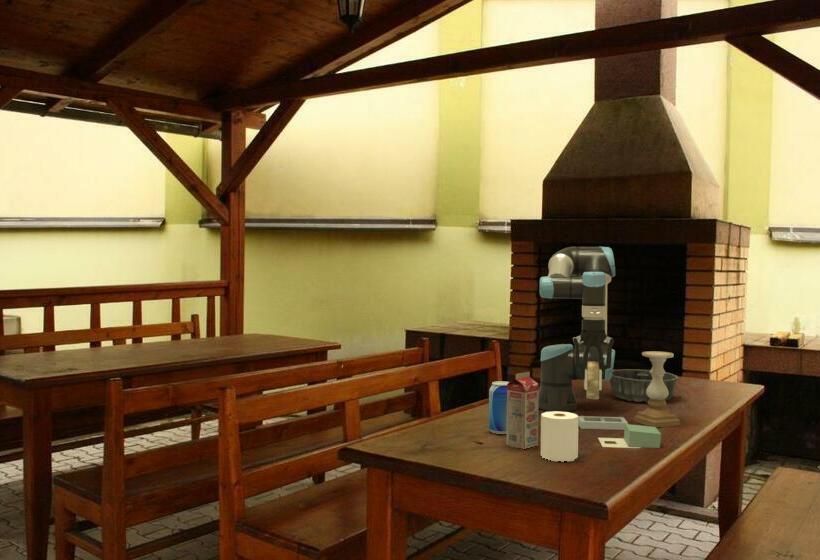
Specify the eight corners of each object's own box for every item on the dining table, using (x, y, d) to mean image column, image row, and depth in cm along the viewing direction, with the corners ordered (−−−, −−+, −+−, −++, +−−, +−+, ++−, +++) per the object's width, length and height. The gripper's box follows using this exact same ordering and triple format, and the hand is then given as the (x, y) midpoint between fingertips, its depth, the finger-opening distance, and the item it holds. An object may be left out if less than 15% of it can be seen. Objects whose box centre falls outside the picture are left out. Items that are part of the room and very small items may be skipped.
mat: (602, 448, 224) (602, 446, 224) (597, 438, 235) (597, 437, 235) (640, 449, 223) (640, 448, 223) (634, 440, 234) (634, 438, 234)
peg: (587, 399, 249) (587, 362, 248) (585, 396, 253) (586, 361, 252) (599, 399, 248) (600, 362, 248) (598, 397, 252) (598, 361, 252)
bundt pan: (682, 396, 304) (683, 372, 304) (672, 408, 281) (672, 382, 281) (616, 390, 317) (616, 367, 316) (600, 402, 293) (601, 376, 293)
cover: (628, 445, 224) (629, 430, 224) (623, 438, 233) (625, 424, 233) (659, 449, 223) (661, 434, 223) (653, 441, 232) (655, 427, 232)
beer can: (494, 436, 238) (495, 385, 237) (485, 430, 246) (485, 381, 245) (519, 434, 240) (519, 384, 239) (509, 428, 248) (509, 380, 247)
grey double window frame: (580, 429, 247) (580, 421, 247) (578, 423, 256) (578, 415, 256) (627, 430, 245) (628, 423, 245) (623, 424, 254) (623, 417, 254)
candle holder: (633, 421, 260) (634, 351, 259) (659, 418, 264) (660, 350, 263) (654, 428, 249) (655, 356, 248) (681, 425, 253) (682, 354, 252)
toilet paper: (584, 456, 215) (584, 414, 214) (565, 464, 207) (566, 420, 206) (553, 450, 221) (553, 409, 221) (533, 457, 214) (534, 415, 213)
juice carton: (506, 445, 226) (507, 372, 225) (520, 442, 231) (520, 370, 230) (524, 450, 222) (525, 375, 221) (538, 446, 226) (538, 372, 225)
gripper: (568, 319, 247) (567, 390, 248) (621, 319, 245) (620, 391, 246) (566, 317, 255) (565, 386, 255) (618, 317, 253) (617, 387, 253)
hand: (592, 389), depth 251 cm, fingers closed on peg, 4 cm apart
